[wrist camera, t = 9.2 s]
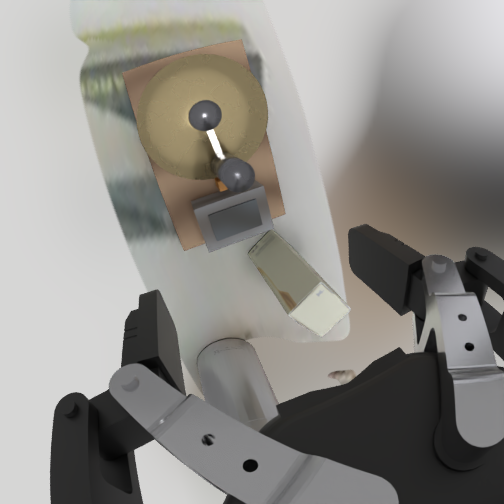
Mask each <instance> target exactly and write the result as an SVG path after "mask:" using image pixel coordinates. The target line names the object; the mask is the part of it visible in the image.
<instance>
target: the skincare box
mask: <svg viewBox="0 0 504 504" xmlns="http://www.w3.org/2000/svg"><path fill="white" fill-rule="evenodd" d="M248 255H249V257H250V258H251V260H252V261H253V263H254V264H255V266H256V267H257V269H258V270H259V271H260V273H261V275H262V276H263V278H264V279H265V281H266V282H267V284H268V285H269V287H270V288H271V290H272V291H273V293H274V294H275V296H276V297H277V299H278V300H279V302H280V303H281V305H282V306H283V308H284V309H285V311H286V313H287V314H288V316H289V317H291V318H292V319H293V320H294V321H296V322H297V323H298V324H300V325H302V326H303V327H305V328H306V329H308V330H309V331H311V332H313V333H314V334H316V335H318V336H320V337H323V336H324V335H325V334H326V333H327V332H328V331H330V330H331V329H332V328H333V327H334V326H335V325H336V324H337V323H338V322H339V321H340V320H341V319H342V318H343V317H344V316H345V315H346V314H347V313H348V312H350V309H351V308H350V307H349V306H348V305H347V304H346V303H345V302H344V301H343V300H342V299H341V297H340V296H339V295H338V294H337V293H336V292H335V291H334V290H333V289H332V288H331V287H330V286H329V285H328V284H327V283H326V282H325V281H324V280H323V279H322V277H321V276H320V275H319V274H318V273H317V272H316V271H315V270H314V269H313V268H312V267H311V266H310V265H309V264H308V263H307V262H306V261H305V260H304V259H303V258H302V257H301V256H300V255H299V254H298V253H297V252H296V251H295V250H294V249H293V248H292V247H291V246H290V245H289V244H288V243H287V242H286V241H285V240H284V239H283V238H281V237H280V236H279V235H278V234H277V233H276V232H274V231H273V230H270V231H269V232H268V233H267V234H266V235H265V236H264V237H263V238H262V239H261V240H260V241H259V242H258V243H257V244H256V245H255V246H254V247H253V249H252V250H251V251H250V252H249V253H248Z"/></svg>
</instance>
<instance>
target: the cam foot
mask: <svg viewBox="0 0 504 504" xmlns="http://www.w3.org/2000/svg"><path fill="white" fill-rule="evenodd" d="M267 121H268V108H267V101H266V98H265V94H264V92H263V90H262V87H261V86H260V84H259V82H258V81H257V79H256V78H255V77H254V76H253V74H252V73H251V72H249V71H248V70H247V69H246V68H245V67H244V66H242V65H241V64H239V63H237V62H236V61H234V60H232V59H229V58H226V57H223V56H219V55H213V54H196V55H190V56H187V57H183V58H180V59H178V60H176V61H173V62H172V63H170V64H168V65H167V66H165V67H164V68H162V69H161V70H160V71H159V72H158V73H157V74H156V75H155V76H154V77H153V78H152V79H151V80H150V82H149V83H148V84H147V86H146V88H145V90H144V91H143V93H142V96H141V98H140V101H139V105H138V110H137V129H138V134H139V137H140V140H141V143H142V145H143V147H144V149H145V151H146V152H147V153H148V155H149V156H150V158H151V159H152V160H153V161H154V162H155V163H156V164H157V165H159V166H160V167H161V168H163V169H164V170H166V171H168V172H169V173H171V174H174V175H176V176H179V177H182V178H186V179H193V180H206V179H213V178H219V179H220V181H221V182H222V183H223V184H224V185H225V186H226V187H227V188H228V189H229V190H231V191H233V192H236V193H240V192H244V191H246V190H248V189H249V188H250V187H251V186H252V185H253V183H254V180H255V172H254V169H253V167H252V166H251V165H250V164H249V163H247V161H248V160H249V159H250V158H251V157H252V156H253V154H254V153H255V152H256V150H257V149H258V147H259V146H260V144H261V142H262V140H263V137H264V135H265V131H266V127H267Z"/></svg>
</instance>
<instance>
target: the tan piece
mask: <svg viewBox="0 0 504 504" xmlns="http://www.w3.org/2000/svg"><path fill="white" fill-rule="evenodd" d="M196 54H213V55H219V56H223V57H226V58H229V59H232V60H234V61H236V62H237V63H239V64H241V65H242V66H244V67H245V68H246V69H247V70H248V71H249V72H251V71H250V67H249V64H248V60H247V57H246V53H245V50H244V46H243V43H242V39H241V40H236V41H230V42H225V43H220V44H216V45H211V46H207V47H202V48H198V49H194V50H191V51H187V52H183V53H180V54H176V55H173V56H169V57H166V58H163V59H160V60H157V61H154V62H151V63H148V64H145V65H142V66H139V67H137V68H134V69H131V70H129V71H126V72H124V73H122V74H123V78H124V81H125V85H126V88H127V91H128V95H129V98H130V101H131V105H132V108H133V111H134V114H135V118H136V121H137V110H138V105H139V101H140V98H141V96H142V93H143V91H144V90H145V88H146V86H147V84H148V83H149V82H150V80H151V79H152V78H153V77H154V76H155V75H156V74H157V73H158V72H159V71H160V70H161V69H162V68H164V67H165V66H167V65H168V64H170V63H172V62H173V61H176V60H178V59H180V58H183V57H187V56H190V55H196ZM147 154H148V153H147ZM148 157H149V160H150V162H151V165H152V168H153V171H154V174H155V177H156V179H157V182H158V185H159V188H160V190H161V193H162V196H163V198H164V201H165V204H166V206H167V209H168V211H169V214H170V217H171V219H172V222H173V224H174V227H175V229H176V232H177V234H178V237H179V239H180V242H181V244H182V247H183V249H184V251H186V250H188V249H191V248H194V247H196V246H199V245H202V244H204V243H206V246H207V248H208V251H209V252H212V251H215V250H218V249H220V248H223V247H226V246H228V245H231V244H234V243H236V242H239V241H242V240H245V239H247V238H250V237H253V236H255V235H258V234H261V233H264V232H266V231H269V230H272V229H274V226H273V222H272V219H273V218H276V217H279V216H282V215H284V214H285V210H284V205H283V200H282V196H281V191H280V187H279V182H278V178H277V174H276V169H275V165H274V161H273V157H272V152H271V148H270V144H269V140H268V136H267V132H266V131H265V135H264V137H263V140H262V142H261V144H260V146H259V147H258V149H257V150H256V152H255V153H254V154H253V156H252V157H251V158H250V159H249V160H248V161H247V163H249V164H250V165H251V166H252V167H253V169H254V172H255V180H254V183H253V185H252V186H251V187H250V188H249V189H248V190H246V191H244V192H240V193H236V192H233V191H231V190H229V189H228V188H227V187H226V186H225V185H224V184H223V183H222V182H221V181H220V179H219V178H213V179H206V180H193V179H186V178H182V177H179V176H176V175H174V174H171V173H169V172H168V171H166V170H164V169H163V168H161V167H160V166H159V165H157V164H156V163H155V162H154V161H153V160H152V159H151V158H150V156H149V155H148Z"/></svg>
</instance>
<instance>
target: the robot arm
mask: <svg viewBox="0 0 504 504" xmlns="http://www.w3.org/2000/svg"><path fill="white" fill-rule="evenodd" d="M348 239H349V264H350V267H351V269H352V271H353V273H354V274H355V275H356V276H357V277H358V278H359V279H361V280H362V281H363V282H364V283H365V284H366V285H367V286H369V287H370V288H371V289H372V290H373V291H374V292H375V293H376V294H378V295H379V296H380V297H381V298H382V299H383V300H384V301H385V302H387V303H388V304H389V305H390V306H391V307H392V308H393V309H394V310H395V311H396V312H397V313H398V314H399V315H401V316H402V315H404V314H406V313H408V312H409V311H413V317H412V323H413V335H414V353H410V354H405V353H404V352H403V351H402V349H401V348H400V347H399V348H397V349H395V350H394V351H392V352H390V353H388V354H387V355H385V356H383V357H381V358H379V359H377V360H375V361H374V362H372V363H371V364H370V365H369V366H368V367H367V368H366V369H365V370H363V371H362V372H361V373H360V374H359V375H358V376H356V377H355V378H354V379H353V380H352V381H350V382H349V383H347V384H344V385H340V386H336V387H331V388H327V389H321V390H316V391H312V392H309V393H306V394H303V395H301V396H298V397H296V398H294V399H291V400H288V401H286V402H283V403H280V404H279V403H278V401H277V399H276V396H275V394H274V392H273V390H272V388H271V386H270V383H269V381H268V379H267V376H266V374H265V372H264V370H263V367H262V365H261V363H260V360H259V358H258V356H257V354H256V351H255V349H254V348H253V346H252V345H250V343H248V342H246V341H244V340H240V339H224V340H220V341H217V342H215V343H212V344H211V345H209V346H208V347H206V348H205V349H204V350H203V351H202V352H201V354H200V355H199V357H198V361H197V365H198V370H199V375H200V380H201V385H202V389H203V393H204V398H205V401H203V400H202V399H200V398H198V397H197V396H195V395H193V394H189V395H188V396H186V392H185V386H184V380H183V373H182V367H181V360H180V353H179V345H178V338H177V332H176V328H175V325H174V322H173V320H172V318H171V316H170V313H169V311H168V309H167V307H166V305H165V302H164V300H163V298H162V295H161V293H160V292H159V290H154V291H151V292H148V293H144V294H141V295H140V297H139V308H138V309H137V310H133V311H131V312H130V314H129V316H128V318H127V319H126V321H125V329H124V331H125V332H124V340H123V350H122V363H121V368H120V369H119V370H118V371H116V372H115V373H114V375H113V376H112V378H111V380H110V383H109V389H108V390H107V391H105V392H103V393H101V394H99V395H98V396H96V397H94V398H92V399H90V400H88V399H87V398H86V397H85V396H84V395H83V394H81V393H77V392H75V393H70V394H68V395H66V396H65V397H63V398H62V399H61V400H60V401H59V403H58V404H57V406H56V409H55V412H54V420H53V431H52V442H51V462H50V463H51V464H50V495H51V504H143V501H142V496H141V491H140V487H139V480H138V475H137V468H136V462H135V455H134V450H135V449H137V448H138V447H140V446H143V445H145V444H146V443H148V442H150V441H152V440H154V439H155V440H156V441H157V442H158V443H159V444H160V445H162V446H163V447H164V448H165V449H166V450H168V451H169V452H170V453H171V454H172V455H173V456H175V457H176V458H177V459H178V460H180V461H181V462H182V463H184V464H185V465H186V466H187V467H189V468H190V469H191V470H193V471H194V472H195V473H196V474H198V475H199V476H200V477H202V478H203V479H204V480H206V481H207V482H209V483H210V484H212V485H213V486H214V487H216V488H217V489H219V490H220V491H222V492H223V493H225V494H227V496H226V499H225V501H224V503H223V504H504V368H503V367H498V366H497V364H496V360H495V356H494V352H493V350H494V351H495V352H496V353H497V354H498V355H499V356H500V357H501V358H502V359H503V360H504V312H503V314H502V315H501V314H500V313H499V312H498V311H497V310H495V309H494V308H493V307H492V306H491V305H490V304H488V303H487V302H486V301H485V300H484V298H485V295H486V292H487V289H488V287H490V288H491V289H492V290H493V291H495V292H496V293H497V294H499V295H500V296H501V297H502V298H503V300H504V260H502V259H501V258H499V257H498V256H496V255H495V254H493V253H492V252H490V251H488V250H486V249H484V248H480V247H472V248H469V249H468V250H467V251H466V257H465V261H460V262H455V263H454V262H453V261H452V260H451V259H449V258H447V257H445V256H442V255H429V256H426V257H425V256H424V255H422V254H420V253H419V252H417V251H416V250H414V249H412V248H411V247H409V246H408V245H404V243H403V242H401V241H398V239H396V238H395V237H393V236H391V235H390V234H386V233H383V232H380V231H378V230H376V229H374V228H372V227H371V226H369V225H367V224H363V225H360V226H357V227H354V228H351V229H350V230H349V233H348Z"/></svg>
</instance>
